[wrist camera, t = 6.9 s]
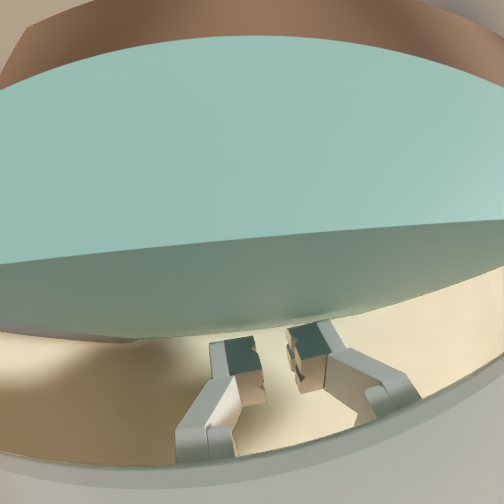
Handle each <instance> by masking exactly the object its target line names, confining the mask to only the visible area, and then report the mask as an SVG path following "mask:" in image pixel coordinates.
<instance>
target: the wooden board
mask: <svg viewBox="0 0 504 504" xmlns="http://www.w3.org/2000/svg"><path fill="white" fill-rule="evenodd" d="M221 36H289V37H304V38H316V39H326V40H334V41H342V42H349V43H355V44H361V45H367V46H372V47H378V48H382V49H387V50H392V51H396V52H400V53H405V54H409V55H412V56H416V57H420V58H424V59H427V60H430V61H434V62H437V63H440V64H443V65H447V66H450V67H452V68H455V69H458V70H461V71H464V72H467V73H469V74H472V75H474V76H477V77H480V78H482V79H484V80H487V81H489V82H492V83H494V84H496V85H498V86H501V87H503V88H504V38H503V37H501V36H500V35H498V34H496V33H494V32H492V31H490V30H488V29H486V28H484V27H482V26H480V25H478V24H476V23H473V22H471V21H469V20H467V19H465V18H463V17H461V16H458V15H456V14H453V13H451V12H448V11H446V10H443V9H441V8H438V7H435V6H433V5H430V4H427V3H424V2H421V1H418V0H94V1H91V2H88V3H85V4H83V5H80V6H77V7H74V8H71V9H69V10H67V11H64V12H61V13H59V14H56V15H54V16H52V17H49V18H47V19H45V20H43V21H41V22H38V23H36V24H34V25H32V26H30V27H28V28H27V29H26V30H25V32H24V33H23V35H22V37H21V38H20V40H19V41H18V43H17V45H16V46H15V48H14V50H13V52H12V53H11V55H10V57H9V59H8V61H7V62H6V64H5V66H4V68H3V70H2V72H1V74H0V90H2V89H4V88H7V87H9V86H11V85H13V84H16V83H18V82H20V81H23V80H25V79H28V78H30V77H33V76H35V75H38V74H40V73H43V72H46V71H49V70H51V69H54V68H57V67H60V66H63V65H66V64H70V63H73V62H76V61H79V60H83V59H86V58H90V57H94V56H97V55H101V54H105V53H110V52H114V51H118V50H123V49H128V48H132V47H138V46H143V45H149V44H155V43H161V42H168V41H176V40H185V39H194V38H206V37H221Z"/></svg>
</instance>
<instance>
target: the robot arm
mask: <svg viewBox="0 0 504 504" xmlns="http://www.w3.org/2000/svg"><path fill="white" fill-rule="evenodd" d="M286 338H287V341H288V345H287V346H286V348H287V356H288V361H289V365H290V368H291V370H292V371H293V372H295V381H296V384H297V386H298V389H299V391H300V394H303V393H307V392H311V391H315V390H319V389H323V388H324V390H325V391H327V392H328V393H330V394H331V395H332V396H334V397H335V398H337V399H338V400H339V401H341V402H342V403H344V404H345V405H346V406H348V407H349V408H351V409H352V410H354V411H355V412H357V413H358V415H357V418H356V421H355V424H354V427H353V428H350V429H347V430H344V431H341V432H338V433H334V434H331V435H328V436H325V437H321V438H318V439H314V440H311V441H307V442H304V443H300V444H296V445H292V446H288V447H284V448H279V449H275V450H270V451H266V452H261V453H256V454H250V455H245V456H240V455H239V452H238V450H237V447H236V444H235V441H234V438H233V435H232V431H233V429H234V427H235V425H236V422H237V420H238V418H239V415H240V413H241V411H242V407H246V406H251V405H255V404H260V403H264V402H266V395H265V389H264V385H263V383H264V379H263V372H262V367H261V363H260V359H259V356H258V353H256V346H255V341H254V338H253V336H248V337H242V338H236V339H230V340H224V341H219V342H212V343H209V354H210V363H211V371H212V379H209V380H208V381H207V382H206V384H205V385H204V387H203V388H202V390H201V391H200V393H199V394H198V396H197V397H196V399H195V400H194V402H193V404H192V405H191V407H190V408H189V410H188V411H187V413H186V414H185V416H184V417H183V419H182V420H181V422H180V423H179V425H178V426H177V428H176V429H175V444H176V464H166V465H99V464H84V463H73V462H64V461H56V460H48V459H42V458H36V457H30V456H25V455H20V454H15V453H10V452H6V451H2V450H0V504H504V352H503V353H502V354H500V355H499V356H497V357H496V358H494V359H493V360H491V361H490V362H488V363H486V364H485V365H483V366H482V367H480V368H478V369H477V370H475V371H473V372H472V373H470V374H468V375H467V376H465V377H463V378H461V379H460V380H458V381H456V382H454V383H452V384H450V385H449V386H447V387H445V388H443V389H441V390H439V391H437V392H435V393H433V394H431V395H429V396H427V397H425V398H423V399H422V398H421V396H420V395H419V393H418V392H417V390H416V389H415V387H414V386H413V384H412V383H411V381H410V380H409V378H408V377H407V375H406V374H405V373H403V372H401V371H399V370H396V369H394V368H392V367H390V366H388V365H386V364H384V363H381V362H379V361H377V360H375V359H373V358H371V357H369V356H367V355H365V354H363V353H361V352H358V351H356V350H354V349H352V348H348V349H347V348H346V347H345V345H344V343H343V342H342V340H341V338H340V337H339V335H338V333H337V332H336V330H335V328H334V327H333V325H332V323H331V322H330V320H329V319H324V320H320V321H316V322H314V323H313V322H312V323H308V324H304V325H300V326H296V327H291V328H287V329H286Z"/></svg>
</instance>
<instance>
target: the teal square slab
mask: <svg viewBox="0 0 504 504" xmlns="http://www.w3.org/2000/svg"><path fill="white" fill-rule="evenodd" d="M501 266H504V88H503V87H501V86H498V85H496V84H494V83H492V82H489V81H487V80H484V79H482V78H480V77H477V76H474V75H472V74H469V73H467V72H464V71H461V70H458V69H455V68H452V67H450V66H447V65H443V64H440V63H437V62H434V61H430V60H427V59H424V58H420V57H416V56H412V55H409V54H405V53H400V52H396V51H392V50H387V49H382V48H378V47H372V46H367V45H361V44H355V43H349V42H342V41H334V40H326V39H316V38H304V37H289V36H221V37H206V38H194V39H185V40H176V41H168V42H161V43H155V44H149V45H143V46H138V47H132V48H128V49H123V50H118V51H114V52H110V53H105V54H101V55H97V56H94V57H90V58H86V59H83V60H79V61H76V62H73V63H70V64H66V65H63V66H60V67H57V68H54V69H51V70H49V71H46V72H43V73H40V74H38V75H35V76H33V77H30V78H28V79H25V80H23V81H20V82H18V83H16V84H13V85H11V86H9V87H7V88H4V89H2V90H0V331H2V332H8V333H15V334H23V335H31V336H39V337H48V338H58V339H69V340H81V341H95V342H113V343H131V342H134V341H136V340H137V339H147V338H165V337H180V336H194V335H206V334H217V333H228V332H237V331H247V330H255V329H264V328H272V327H280V326H287V325H294V324H301V323H308V322H315V321H320V320H324V319H334V318H340V317H345V316H351V315H357V314H362V313H365V312H369V311H372V310H376V309H379V308H383V307H386V306H390V305H393V304H396V303H400V302H403V301H406V300H409V299H412V298H415V297H419V296H422V295H425V294H428V293H431V292H434V291H437V290H440V289H443V288H445V287H448V286H451V285H454V284H457V283H460V282H462V281H465V280H468V279H470V278H473V277H476V276H478V275H481V274H484V273H486V272H489V271H491V270H494V269H496V268H499V267H501Z"/></svg>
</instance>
